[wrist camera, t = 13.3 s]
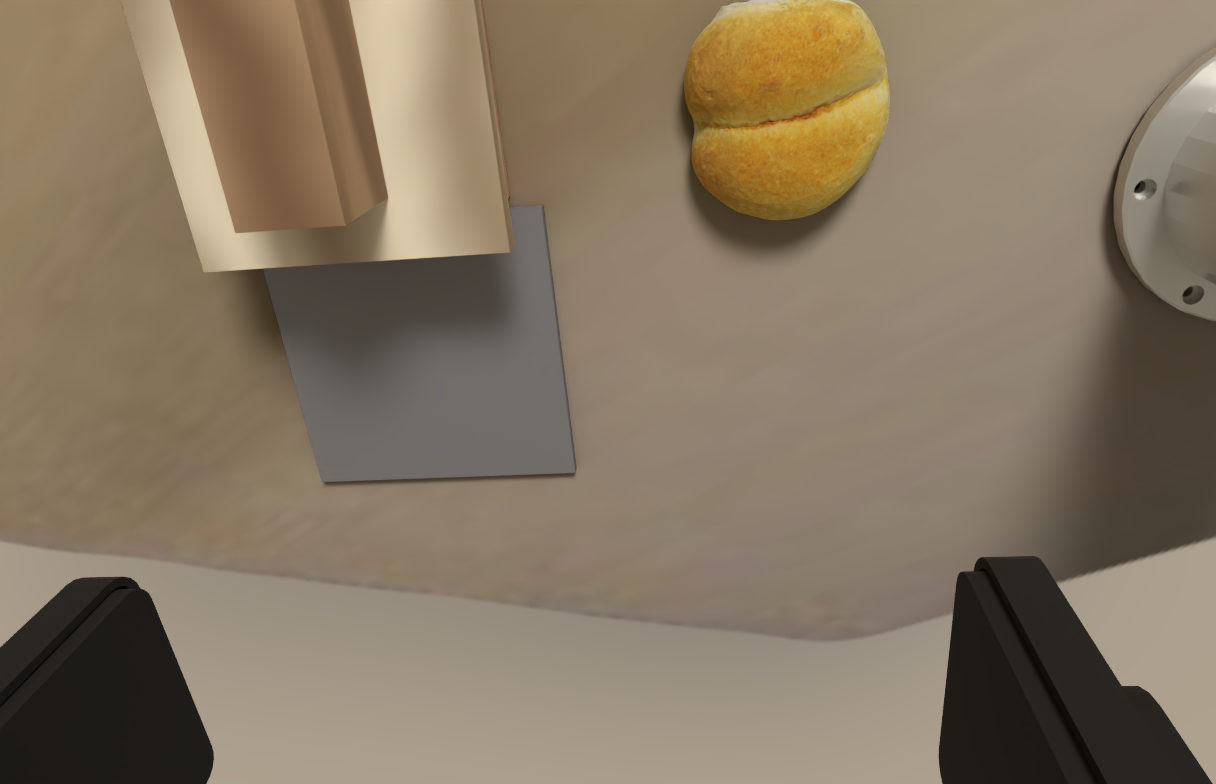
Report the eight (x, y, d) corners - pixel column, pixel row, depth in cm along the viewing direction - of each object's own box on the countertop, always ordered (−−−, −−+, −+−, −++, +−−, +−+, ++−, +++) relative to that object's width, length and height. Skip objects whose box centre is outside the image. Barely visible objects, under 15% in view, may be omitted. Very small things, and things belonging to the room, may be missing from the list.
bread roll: (700, 223, 38) (701, 246, 34) (675, 11, 34) (674, 12, 31) (886, 197, 37) (907, 219, 33) (881, -25, 33) (904, -29, 29)
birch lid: (462, -127, 28) (414, -154, 23) (514, 245, 34) (484, 287, 29) (112, -84, 30) (-4, -102, 25) (216, 265, 35) (139, 308, 30)
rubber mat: (543, 204, 38) (541, 207, 37) (576, 468, 44) (575, 472, 43) (256, 226, 39) (251, 228, 39) (325, 477, 45) (321, 482, 45)
